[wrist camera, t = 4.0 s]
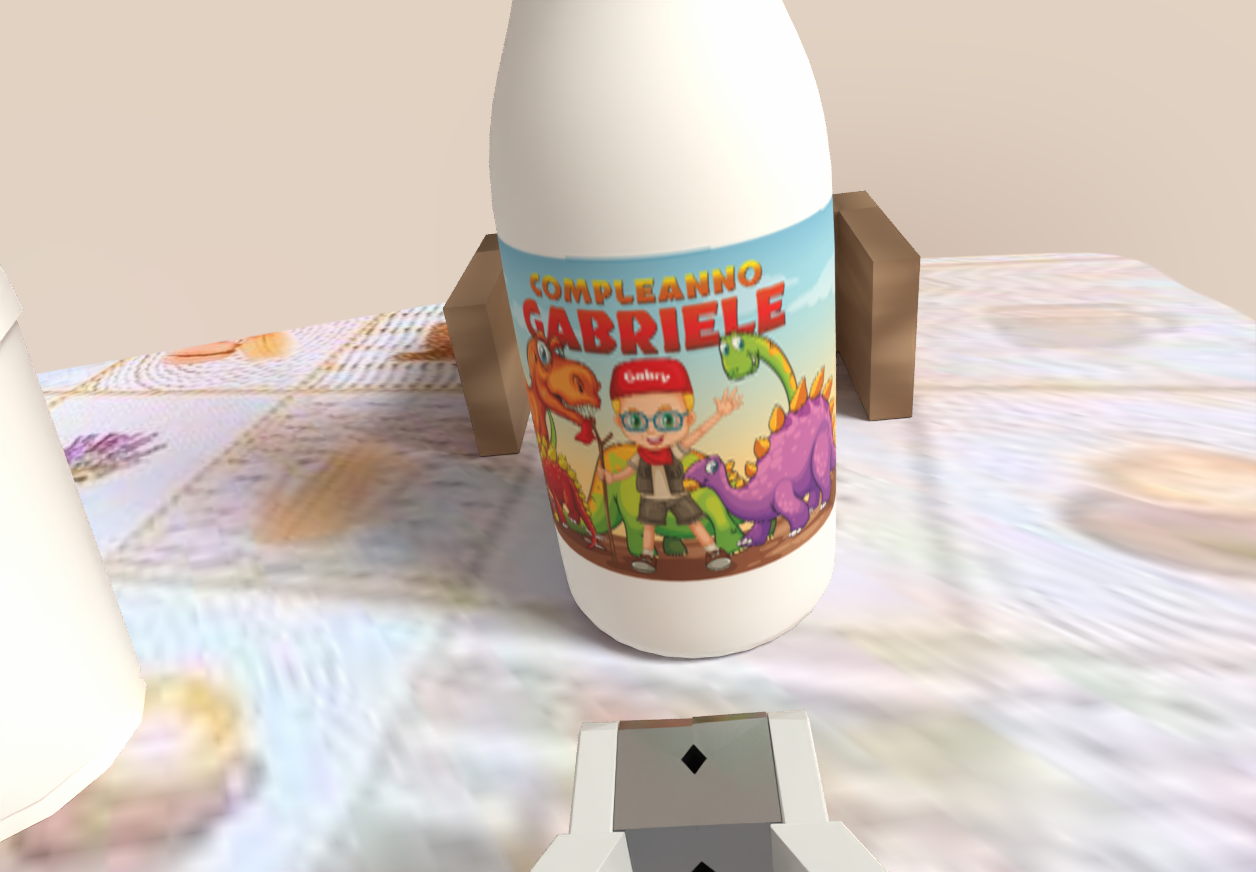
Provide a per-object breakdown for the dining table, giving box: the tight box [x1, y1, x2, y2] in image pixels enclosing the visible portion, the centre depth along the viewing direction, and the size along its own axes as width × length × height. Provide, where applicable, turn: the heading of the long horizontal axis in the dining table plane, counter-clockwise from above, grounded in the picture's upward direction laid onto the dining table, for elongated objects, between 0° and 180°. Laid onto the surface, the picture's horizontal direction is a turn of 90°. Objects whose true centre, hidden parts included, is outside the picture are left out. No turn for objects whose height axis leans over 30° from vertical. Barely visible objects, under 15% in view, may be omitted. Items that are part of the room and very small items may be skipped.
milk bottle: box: [489, 0, 836, 658], centre depth 19 cm, size 8×8×20 cm
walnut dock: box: [443, 191, 920, 456], centre depth 33 cm, size 16×8×6 cm, turn 88°
